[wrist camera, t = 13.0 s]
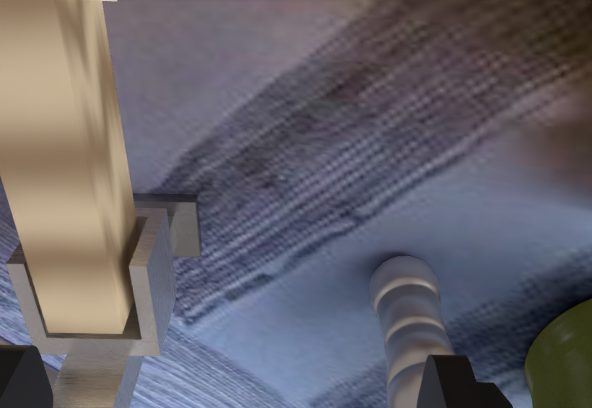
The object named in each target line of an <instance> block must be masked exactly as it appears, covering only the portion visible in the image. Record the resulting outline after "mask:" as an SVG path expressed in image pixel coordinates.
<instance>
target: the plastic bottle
mask: <svg viewBox="0 0 592 408" xmlns="http://www.w3.org/2000/svg"><path fill="white" fill-rule="evenodd" d="M369 297H370V302H371V304H372V307H373V310H374V312H375V314H376V316H377V318H378V321H379V325H380V328H381V332H382V335H383V339H384V344H385V353H386V362H387V403H388V408H417V399H418V395H419V390H420V386H421V381H422V377H423V372H424V368H425V364H426V359H427V357H428V355H430V354H434V355H455V353H454V351H453V349H452V346H451V343H450V341H449V338H448V335H447V333H446V330H445V327H444V321H443V316H442V311H441V306H440V290H439V283H438V280H437V278H436V276H435V274H434V273H433V271H432V269H431V268H430V267H429V265H428V264H426V263H425V262H424V261H422V260H420V259H417V258H414V257H411V256H397V257H393V258H390V259H388V260H386V261H385V262H383V263H382V264H381V265H380V266H379V267H378V268H377V269H376V270H375V271H374V273H373V275H372V277H371V280H370V290H369Z"/></svg>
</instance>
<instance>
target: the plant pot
mask: <svg viewBox="0 0 592 408" xmlns="http://www.w3.org/2000/svg"><path fill="white" fill-rule="evenodd" d="M525 378H526V382H527V385H528V388H529V391H530V394H531V397H532V403H533V408H592V299H589V300H587V301H585V302H582V303H580V304H578V305H576V306H574V307H573V308H571V309H569V310H567V311H566V312H564V313H563V314H561V315H560V316H558V317H557V318H555V319H554V320H553V321H552V322H551V323H549V324H548V325H547V326H546V327H545V328H544V329H543V330H542V331H541V332H540V334H539V335H538V336H537V337H536V339H535V340H534V342H533V344H532V345H531V347H530V349H529V351H528V354H527V357H526V361H525Z"/></svg>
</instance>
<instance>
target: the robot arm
mask: <svg viewBox="0 0 592 408" xmlns="http://www.w3.org/2000/svg"><path fill="white" fill-rule="evenodd" d="M0 408H53V392H52V389H51V386H50V383H49V380H48V377H47V374H46V371H45V367H44V364H43V361H42V358H41V355H40V352H39V350H38V348H37V347H36V346H34V345H0ZM417 408H513V407H512V404H511V403H510V402H509V401H508V400H507V398H506V397H505V396H504V395H503V394H502V392H501V391H500V390H499V389H498V388H497V386H496V385H495V384H494V383H484V382H476V380H475V377H474V373H473V370H472V367H471V364H470V362H469V359H468V358H467V356H465V355H434V354H430V355H428V357H427V359H426V364H425V368H424V372H423V377H422V381H421V386H420V390H419V395H418V399H417Z"/></svg>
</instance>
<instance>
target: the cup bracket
mask: <svg viewBox="0 0 592 408" xmlns="http://www.w3.org/2000/svg"><path fill="white" fill-rule="evenodd" d="M133 200H134V206H135V213H136V219H137V225H138V231H139V238H140V239H139V241H138V244H137V247H136V249H135V252H134V254H133V257H132V259H131V262H130V265H129V270H130V276H131V281H132V287H133V292H134V301H133V304H132V307H131V310H130V313H129V315H128V318H127V321H126V324H125V327H124V330H123V333H122V334H96V333H48V329H47V326H46V323H45V320H44V316H43V313H42V310H41V307H40V303H39V300H38V297H37V294H36V290H35V287H34V284H33V280H32V277H31V274H30V271H29V267H28V264H27V261H26V258H25V254H24V251H23V248H22V245H21V242H20V244H19V245H18V247H17V248H16V249H15V251H14V252H13V254H12V255H11V257H10V258H9V260H8V261H7V263H6V266H7V269H8V272H9V275H10V278H11V281H12V284H13V287H14V290H15V293H16V296H17V299H18V302H19V305H20V308H21V311H22V314H23V317H24V320H25V323H26V326H27V329H28V332H29V335H30V338H31V341H32V344H33V345H34V346H36V347H37V348H38V350H39V352H40V354H62V355H67V356H66V358H65V360H64V363H63V365H62V367H61V370H60V372H59V374H58V377H57V379H56V381H55V383H54V386H53V388H52V392H53V408H129V407H130V403H131V400H132V396H133V393H134V389H135V386H136V382H137V379H138V376H139V372H140V369H141V365H142V362H143V358H144V356H161V352H162V348H163V344H164V340H165V337H166V333H167V329H168V325H169V321H170V317H171V314H172V310H173V306H174V302H175V298H176V294H177V290H176V282H175V273H174V265H173V256H184V257H200V255H201V251H202V243H201V231H200V219H199V207H198V195H169V194H133Z"/></svg>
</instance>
